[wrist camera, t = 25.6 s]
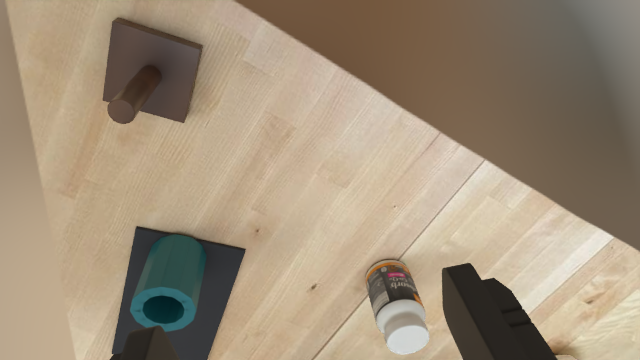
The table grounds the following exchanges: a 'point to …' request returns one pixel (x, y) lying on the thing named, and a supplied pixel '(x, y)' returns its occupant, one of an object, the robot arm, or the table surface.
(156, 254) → the teal hollow cylinder
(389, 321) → the pill bottle
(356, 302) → the table surface
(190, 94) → the ring toss
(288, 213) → the table surface
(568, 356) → the decorative ball
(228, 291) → the mat
